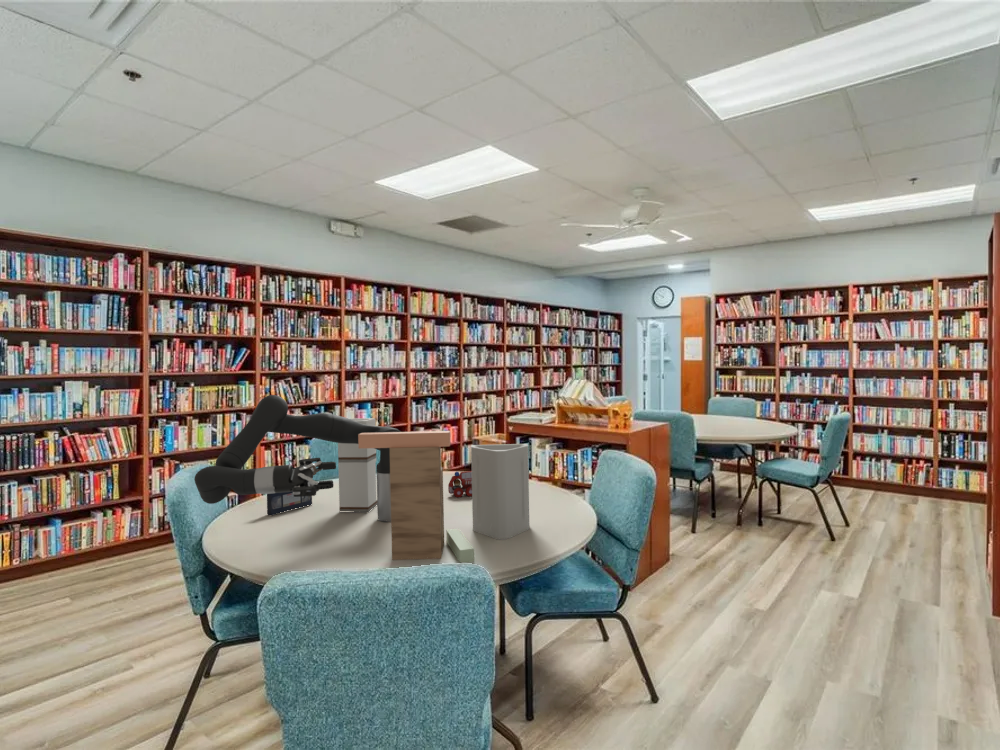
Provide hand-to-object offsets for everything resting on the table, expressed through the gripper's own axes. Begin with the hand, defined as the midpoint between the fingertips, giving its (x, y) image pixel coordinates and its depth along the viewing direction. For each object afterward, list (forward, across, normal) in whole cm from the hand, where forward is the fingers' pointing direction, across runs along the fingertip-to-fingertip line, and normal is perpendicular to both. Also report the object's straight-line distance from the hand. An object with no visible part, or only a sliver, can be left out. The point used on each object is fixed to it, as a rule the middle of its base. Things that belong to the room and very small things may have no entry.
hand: (334, 474), depth 154 cm
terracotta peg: (+20, -2, +6) cm, 21 cm away
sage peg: (+34, +12, -24) cm, 43 cm away
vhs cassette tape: (-26, -45, -50) cm, 72 cm away
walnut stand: (+23, +10, -24) cm, 34 cm away
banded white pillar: (0, -40, -49) cm, 63 cm away
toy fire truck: (+42, -50, -56) cm, 86 cm away
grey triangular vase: (+50, -1, -31) cm, 58 cm away
